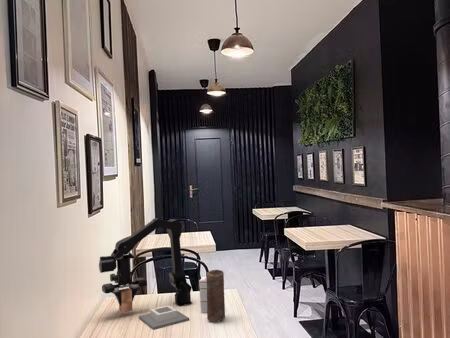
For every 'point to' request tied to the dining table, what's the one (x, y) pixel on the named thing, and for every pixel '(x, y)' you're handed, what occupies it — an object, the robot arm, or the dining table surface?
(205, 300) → the syrup box
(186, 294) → the robot arm
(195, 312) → the dining table surface
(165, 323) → the socket
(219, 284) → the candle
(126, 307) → the peg
